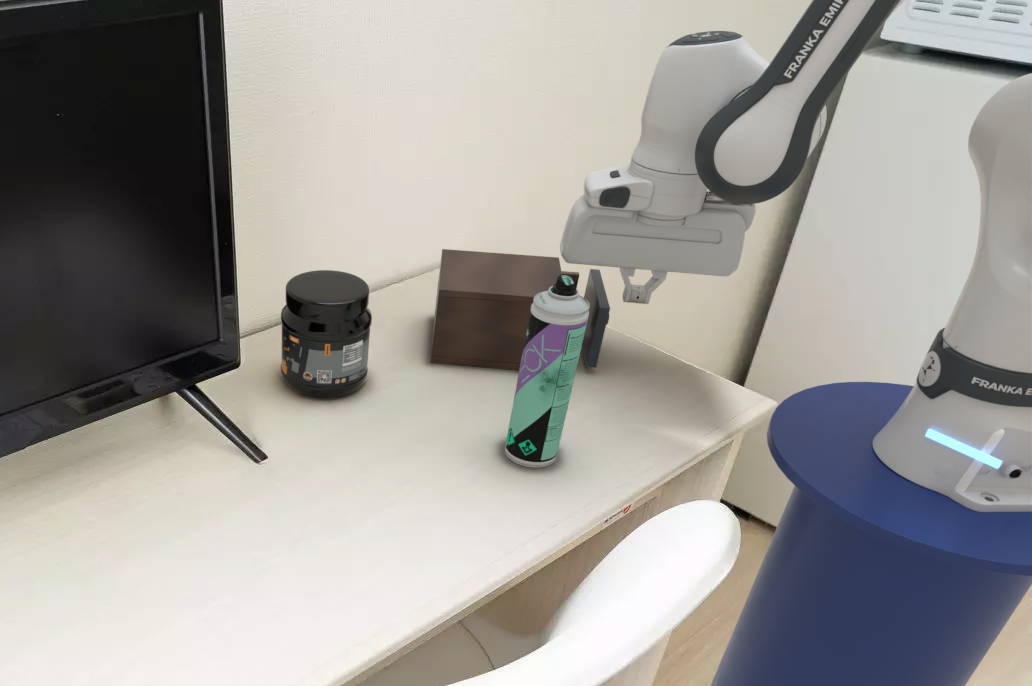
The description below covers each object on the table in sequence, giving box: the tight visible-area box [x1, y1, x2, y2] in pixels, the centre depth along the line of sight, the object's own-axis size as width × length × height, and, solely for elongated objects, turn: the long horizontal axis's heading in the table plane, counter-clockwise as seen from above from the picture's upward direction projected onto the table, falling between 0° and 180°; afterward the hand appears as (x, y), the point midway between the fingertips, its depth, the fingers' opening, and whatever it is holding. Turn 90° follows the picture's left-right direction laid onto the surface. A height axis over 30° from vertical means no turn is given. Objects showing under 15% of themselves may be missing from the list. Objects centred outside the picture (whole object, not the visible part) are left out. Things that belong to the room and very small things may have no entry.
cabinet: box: [430, 248, 562, 371], centre depth 117 cm, size 15×13×10 cm
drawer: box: [561, 268, 611, 368], centre depth 117 cm, size 15×12×8 cm
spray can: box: [504, 275, 590, 469], centre depth 94 cm, size 6×6×20 cm
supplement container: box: [280, 269, 373, 398], centre depth 109 cm, size 10×10×12 cm
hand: (635, 301), depth 114 cm, fingers closed
